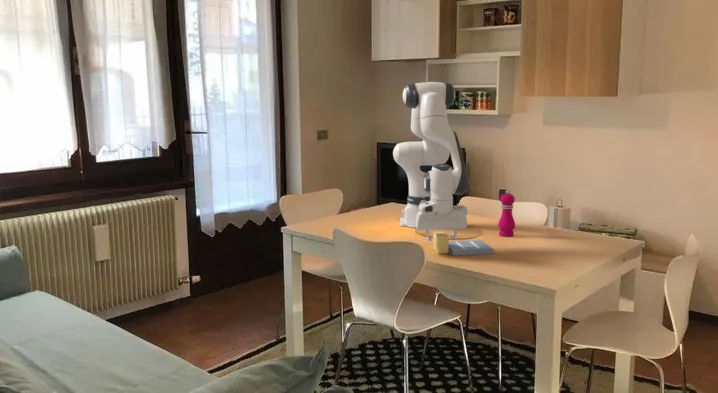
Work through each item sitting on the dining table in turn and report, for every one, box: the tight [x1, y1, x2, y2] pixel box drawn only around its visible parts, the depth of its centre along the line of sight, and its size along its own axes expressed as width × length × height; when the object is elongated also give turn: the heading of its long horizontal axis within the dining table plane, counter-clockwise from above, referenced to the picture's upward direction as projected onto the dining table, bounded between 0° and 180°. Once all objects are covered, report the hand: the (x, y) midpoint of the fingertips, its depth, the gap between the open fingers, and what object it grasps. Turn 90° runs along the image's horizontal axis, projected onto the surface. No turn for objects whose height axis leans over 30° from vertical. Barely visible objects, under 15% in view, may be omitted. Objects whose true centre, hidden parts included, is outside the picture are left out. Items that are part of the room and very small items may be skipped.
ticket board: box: [448, 239, 494, 256], centre depth 264 cm, size 14×17×2 cm
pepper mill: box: [497, 189, 516, 238], centre depth 286 cm, size 7×7×20 cm
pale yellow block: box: [432, 230, 450, 255], centre depth 262 cm, size 8×4×7 cm, turn 8°
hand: (441, 240), depth 262 cm, fingers open, 8 cm apart
